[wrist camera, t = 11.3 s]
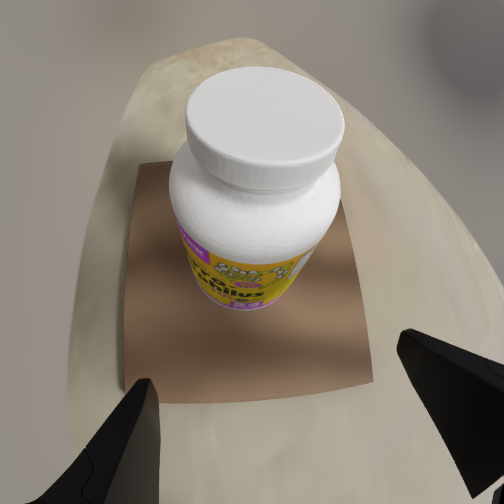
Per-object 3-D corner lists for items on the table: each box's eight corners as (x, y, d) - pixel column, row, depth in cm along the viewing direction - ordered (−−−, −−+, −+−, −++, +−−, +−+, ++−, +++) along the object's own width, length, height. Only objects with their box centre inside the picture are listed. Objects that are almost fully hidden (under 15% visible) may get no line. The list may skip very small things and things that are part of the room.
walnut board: (366, 381, 18) (373, 381, 17) (130, 399, 16) (125, 400, 15) (326, 166, 24) (329, 159, 24) (142, 171, 23) (139, 164, 22)
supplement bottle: (173, 273, 19) (102, 124, 7) (232, 204, 21) (239, 38, 9) (257, 334, 18) (314, 253, 6) (311, 254, 20) (397, 109, 8)
